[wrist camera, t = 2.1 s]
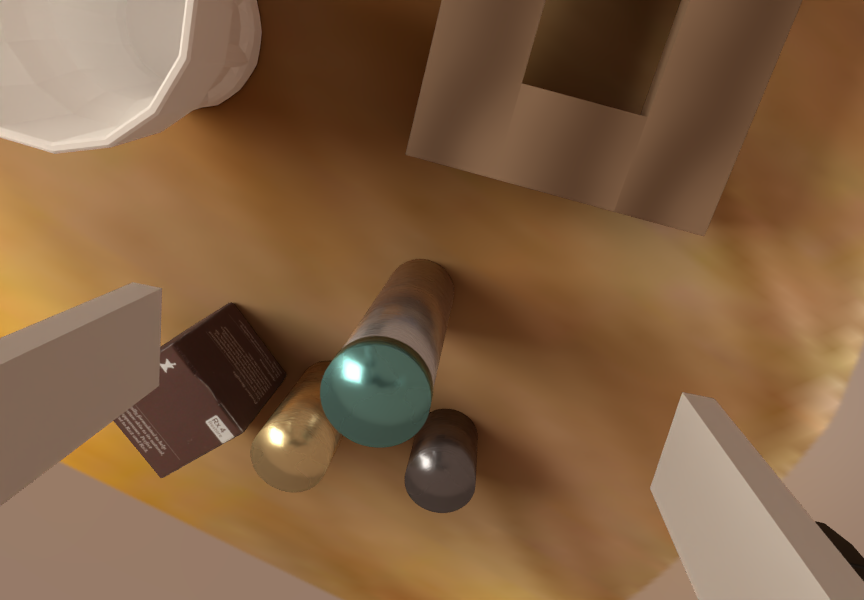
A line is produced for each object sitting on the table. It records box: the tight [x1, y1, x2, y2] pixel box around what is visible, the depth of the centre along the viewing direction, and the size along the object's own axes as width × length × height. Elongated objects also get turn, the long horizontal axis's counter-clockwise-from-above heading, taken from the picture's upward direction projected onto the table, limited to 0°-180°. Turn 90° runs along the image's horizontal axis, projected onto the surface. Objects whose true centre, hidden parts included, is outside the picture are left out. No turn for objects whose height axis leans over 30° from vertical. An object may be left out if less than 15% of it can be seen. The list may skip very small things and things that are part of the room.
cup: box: [0, 0, 262, 154], centre depth 26 cm, size 12×12×11 cm
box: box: [113, 303, 287, 478], centre depth 33 cm, size 6×6×7 cm
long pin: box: [320, 259, 454, 447], centre depth 28 cm, size 4×4×14 cm
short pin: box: [405, 409, 478, 513], centre depth 35 cm, size 4×4×5 cm
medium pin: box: [251, 361, 343, 492], centre depth 33 cm, size 4×4×8 cm
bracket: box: [405, 0, 802, 236], centre depth 27 cm, size 14×14×6 cm
